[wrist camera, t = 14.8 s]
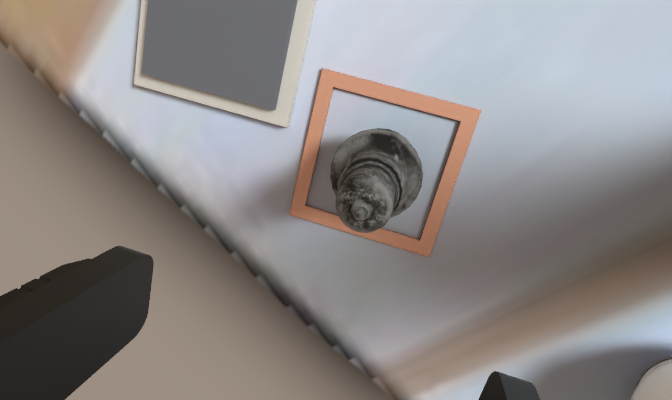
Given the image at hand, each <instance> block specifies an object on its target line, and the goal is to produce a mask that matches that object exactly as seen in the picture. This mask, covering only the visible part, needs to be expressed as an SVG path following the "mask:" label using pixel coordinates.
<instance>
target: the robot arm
mask: <svg viewBox="0 0 672 400" xmlns="http://www.w3.org/2000/svg"><path fill="white" fill-rule="evenodd" d="M152 273H153V259H152V257H151V256H149V255H147V254H144V253H141V252H138V251H135V250H132V249H129V248H126V247H122V246H116V247H114V248H112V249H110V250H108V251H106V252H104V253H102V254H100V255H99V256H97V257H95V258H93V259H85V260H81V261H77V262H73V263H69V264H65V265H62V266H60V267H58V268H56V269H54V270H52V271H50V272H48V273H46V274H44V275H42V276H40V278H39V279H34V280H32V281H30V282H28V283H26V284H24V285H22V286H21V288H20V289H17V288H16V289H14V290H12V291H10V292H8V293H6V294H4V295H2V296H0V400H65V399H66V398H67V397H68V396H69V395H70V394H71V393H72V392H74V391H75V390H76V389H77V388H78V387H79V386H80V385H81V384H83V383H84V382H85V381H86V380H87V379H88V378H90V377H91V376H92V375H93V374H94V373H95V372H96V371H97V370H99V369H100V368H101V367H102V366H103V365H104V364H105V363H106V362H108V361H109V360H110V359H111V358H112V357H113V356H114V355H115V354H117V353H118V352H119V351H120V350H121V349H122V348H123V347H124V346H126V345H127V344H128V343H129V342H130V341H131V340H132V339H133V338H135V336H136V335H137V334H138V333H139V331H140V330H141V328H142V326H143V325H144V323H145V320H146V318H147V314H148V308H149V299H150V291H151V282H152ZM479 400H540V399H539V396H538V394H537V391H536V389H535V387H534V385H533V384H532V383H530V382H527V381H524V380H521V379H518V378H515V377H512V376H509V375H506V374H503V373H500V372H496V371H495V372H493V373H492V374H491V375H490V376H489V378H488V380H487V382H486V384H485V387H484V389H483V391H482V393H481V395H480V398H479Z"/></svg>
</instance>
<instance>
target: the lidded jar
mask: <svg viewBox="0 0 672 400" xmlns="http://www.w3.org/2000/svg"><path fill="white" fill-rule="evenodd" d="M631 400H672V359H668V360H665V361H663V362H660V363H658V364H656V365H655V366H653V367H652V368H650V369H649V370H648V371H647V372H646V373H645V374H644V375H643V376H642V378H641V379H640V381H639V383H638V386H637V387H636V389H635V390H634V393H633V395H632V397H631Z"/></svg>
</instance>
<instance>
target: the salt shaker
mask: <svg viewBox="0 0 672 400" xmlns="http://www.w3.org/2000/svg"><path fill="white" fill-rule="evenodd" d="M330 177H331V182H332V187H333V190H334V192H335V194H336V209H337V213H338V216H339V218H340V220H341V221H342V222H343V223H344V224H345V225H346V226H347V227H349V228H350V229H352V230H354V231H356V232H361V233H369V232H373V231H376V230H378V229H380V228H381V227H382V226H384V225H385V224H386V223H387V221H388V220H389V219H390V217H393V216H396V215H398V214H400V213H401V212H403V211H404V210H406V209H407V208H408V207H409V206H410V205H411V204H412V203H413V201H414V200H415V199H416V198H417V195H418V193H419V191H420V188H421V185H422V177H423V173H422V165H421V161H420V159H419V157H418V154H417V152H416V150H415V149H414V148H413V147H412V145H411V144H410V143H409V142H408V141H407V139H406V138H404V137H403V136H402V135H400V134H399V133H397V132H394V131H392V130H389V129H379V128H378V129H371V130H366V131H361V132H359V133H357V134H355V135H353V136H351V137H350V138H348V139H347V140H346V141H345V142H344V143H343V144H342V145H341V146H340V148H339V149H338V150H337V152H336V153H335V156H334V158H333V161H332V164H331V175H330Z"/></svg>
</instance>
